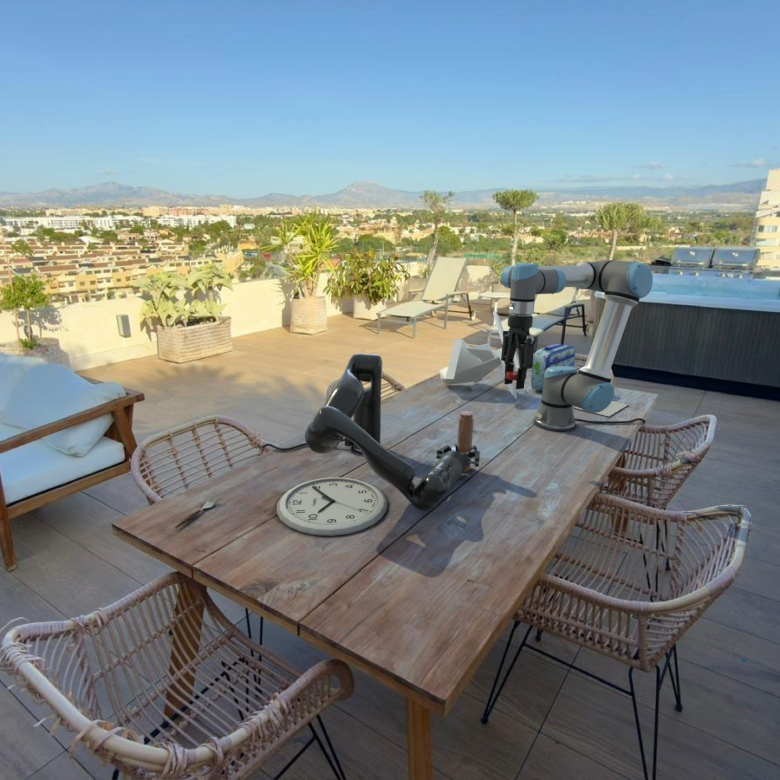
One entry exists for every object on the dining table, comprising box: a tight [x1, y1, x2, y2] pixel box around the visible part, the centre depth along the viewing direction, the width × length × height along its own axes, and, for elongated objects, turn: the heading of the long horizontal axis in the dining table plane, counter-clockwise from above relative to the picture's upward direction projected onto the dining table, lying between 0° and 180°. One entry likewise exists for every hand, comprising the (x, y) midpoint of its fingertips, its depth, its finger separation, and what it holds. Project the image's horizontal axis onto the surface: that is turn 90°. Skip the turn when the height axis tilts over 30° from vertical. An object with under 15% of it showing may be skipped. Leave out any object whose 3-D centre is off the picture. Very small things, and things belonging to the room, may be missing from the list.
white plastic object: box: [438, 310, 531, 400], centre depth 245 cm, size 37×45×31 cm
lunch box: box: [530, 343, 576, 392], centre depth 248 cm, size 26×11×21 cm, turn 134°
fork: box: [174, 492, 220, 529], centre depth 137 cm, size 3×16×2 cm, turn 160°
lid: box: [506, 370, 517, 381], centre depth 168 cm, size 5×5×2 cm
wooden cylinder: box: [457, 410, 475, 473], centre depth 163 cm, size 4×4×19 cm
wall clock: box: [276, 476, 388, 537], centre depth 142 cm, size 30×2×30 cm
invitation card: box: [573, 400, 629, 418], centre depth 226 cm, size 21×1×15 cm
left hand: (467, 446), depth 166 cm, fingers closed on wooden cylinder, 4 cm apart
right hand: (513, 386), depth 169 cm, fingers closed on lid, 5 cm apart
